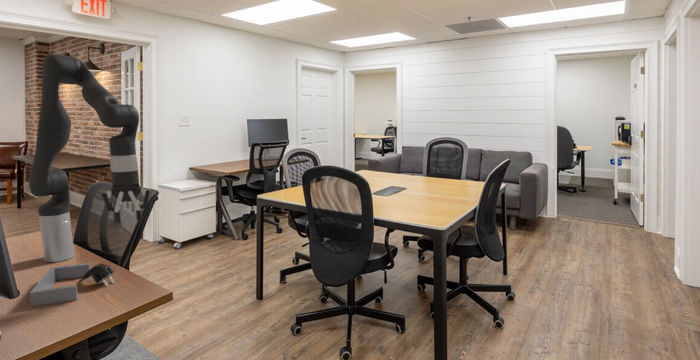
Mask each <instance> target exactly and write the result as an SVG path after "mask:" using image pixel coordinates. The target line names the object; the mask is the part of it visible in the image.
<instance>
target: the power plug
mask: <svg viewBox="0 0 700 360" xmlns="http://www.w3.org/2000/svg"><path fill="white" fill-rule="evenodd" d="M114 274H115V271H114V270H113V268H112V267H111V265H110V264H105V263H104V264H103V263H98V264H96V265H94V266H93V267H90V270H89V271H88V272H87V273H86V274H85V275H84V276H83V277H81V279H80V280H78V282H79V283H82V282H83V281H84V280H87V279H89V278H92V279H93V281H94V282H95V283H96V284H99V283H100V282H102V283H103V284H104V286H105V287H109V283H108V282H107V281H106V279H108V280H109V281H110V283H111V284H114V283H115V281H114V279H113V277H112V275H114Z"/></svg>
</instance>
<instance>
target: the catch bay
mask: <svg viewBox="0 0 700 360" xmlns="http://www.w3.org/2000/svg"><path fill="white" fill-rule="evenodd" d="M90 269H91V263H90V262H87V263H80V264H70V265H69V264H68V265H59V266H52V267H50V268H49V269H48V270H47V271H46V273H45V274H44V275H43V276H42V277H41V279H40V280H39V281H38V283H37V284H36V285H35V286H34V287H33V288H32V290H31V291H30V292H29V297H30V305H31V307H36V306H42V305H52V304H57V303H66V302H71V301H72V302H73V301H78V299H79V295H78V294H79V293H78V285H77V284H75V285H67V286H59V287H53V285H54V284H55V283H56V281H60V280H61V281H62V280H68V279H74V278H75V279H77V278H83V276H84V275H85V274H86V273H87V272H88V271H89V270H90Z"/></svg>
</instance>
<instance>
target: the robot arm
mask: <svg viewBox="0 0 700 360" xmlns="http://www.w3.org/2000/svg"><path fill="white" fill-rule="evenodd" d="M41 73H42V74H41V103H40V110H39V117H38V124H37V132H36V133H37V134H36V144H35V151H34V157H33V161H32V165H31V169H30V174H29V178H28V187H29V191H30V193H31V195H32V196H34V197H37V198H43V197H44V198H45V197H50V196H51V197H50V199H49V200H47V202H45V203H44V204H42V205H40V206H39V207H38V209H37V212H38V220H39V227H40V236H41V243H42V252H43V260H44V262H47V263H55V262H56V263H57V262H63V261H66V260H70V259H72V258H73V257H75V252H74V241H73V233H72V224H71V214H70V206H71V200H70V199H71V198H70V182H69V176H68V174H67V173H66V172H65V170H63V169H61V168H55V169H50V168H51V166H52V163H53V161H54V160H55V159H56V157H58V155H59V154H60V153H61V152H62V151H63V149H64V148H65V147H66V146H67V144H68V142H69V140H70V135H71V128H72V120H71V117H70V115H69V113H68V111H67V110H66V109H65V107H64V105H63V103H62V102H61V99H60V94H59V93H60V92H59V91H60V90H59V87H60V85H61V84H62V85H77V86H79V87H81V95H82V98H83V100H84V101H85V103H87V105H88V106H90V107H91V108H92V109H93V110H94V111H95V112H96V114H97V116H98V118H99V120H100V123H102V125H103V126H105V127H108V128H111V129H112V128H113V129H116V128H117V129H119V128H120V129H121V128H122V130H121V131H120V133H119V134H116V135H113V136H111V137H110V138H109V140H108V141H109V143H108V145H109V155H110V157H109V158H110V160H109V162H110V164H109V165H110V167H109V169H110V175H111V185H112V186H111V189H110V190H108V191H103V192H102V193H101V197H102V199H103V202H104V204H105V207H106V209H107V211H108V212H114V215H115V222H116V223H117V224H118V225H119V224H122V211H121V206H122V203H125V202H132V204H133V205H134V207H135V209H136V211H135V214H136V215H135V216H136V222H137V223H140V221H142V218H143V215H142V213H143V211H142V210H143V209H147V207H148V203H149V200H150V195H151V189H150V188H147V189H146V188H142V187H141V185H140V176H139V166H138V158H137V153H136V151H137V149H136V138H137V133H138V129H139V125H140V124H139V123H140V113H139V111H138V109H137V108H136V106H134V105H132V104H123V103H122V104H119V102H118V99H117V98H116V96H115V95H114V94H112V93H111V91H109V90H108V89H107V88H105V87H104V86H103V85H102V83H100V82H99V81H98V80H97V79H96V77H95V76H94V74H93V73H92V72H91V70H90V69H89V68H88V66H87V64H85V63H84V62H83V60H81V59H80V58H78V57H75V56H70V55H63V54H54V53H53V54H52V53H50V54H47V55H46V56H45V57H44V59H43V62H42V70H41ZM140 193H142V196H143V198H144V199H143V203H142V204H141V202H140V200H139V199H138V196H139V195H140ZM111 195H112V196H114V197H115V199H116V202H115V206H114V205H113V204H112V202H111V201H112V200H111V197H112V196H111Z"/></svg>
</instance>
